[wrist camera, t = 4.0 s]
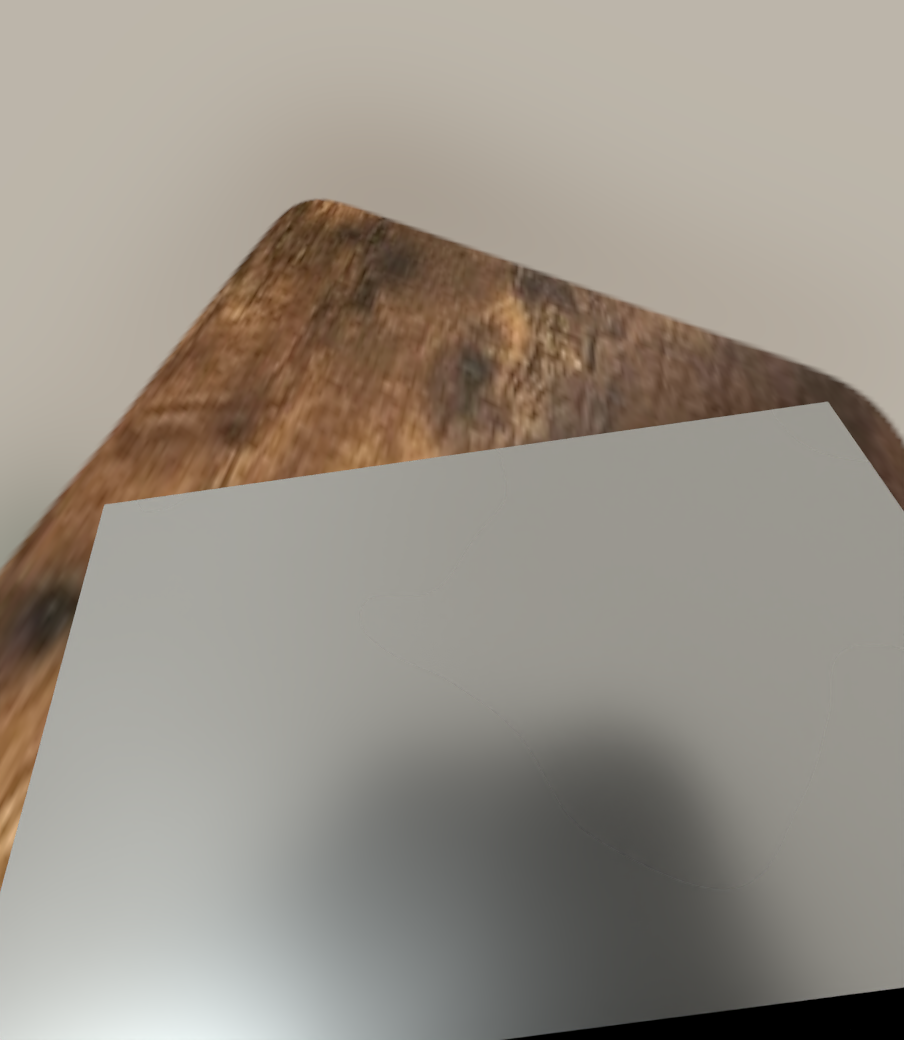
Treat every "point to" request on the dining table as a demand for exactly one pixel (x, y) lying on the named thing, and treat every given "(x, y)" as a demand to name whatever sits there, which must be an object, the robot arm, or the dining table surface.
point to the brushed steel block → (481, 753)
